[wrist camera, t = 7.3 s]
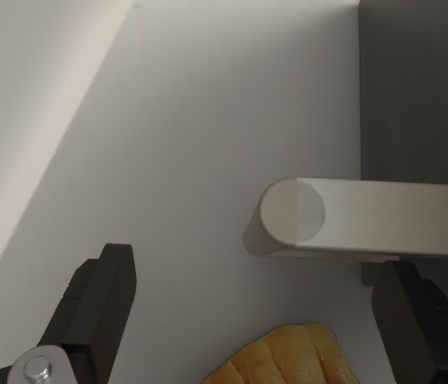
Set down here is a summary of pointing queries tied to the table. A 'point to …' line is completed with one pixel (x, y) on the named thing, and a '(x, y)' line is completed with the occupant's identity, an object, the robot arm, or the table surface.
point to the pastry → (288, 359)
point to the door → (378, 159)
